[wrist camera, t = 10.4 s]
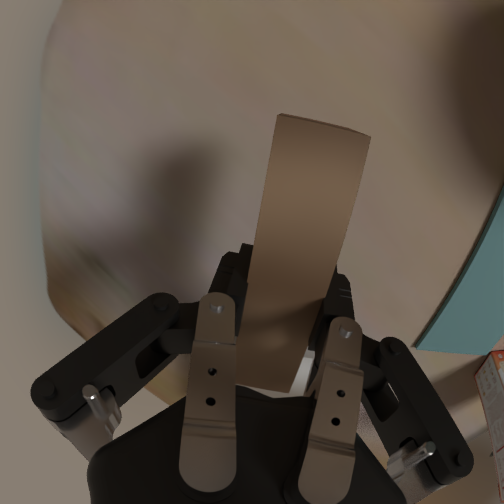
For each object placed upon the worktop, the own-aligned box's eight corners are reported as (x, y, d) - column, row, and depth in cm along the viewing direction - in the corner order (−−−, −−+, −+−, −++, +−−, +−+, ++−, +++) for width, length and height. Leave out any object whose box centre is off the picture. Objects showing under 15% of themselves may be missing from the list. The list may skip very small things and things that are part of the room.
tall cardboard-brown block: (236, 105, 13) (213, 105, 9) (391, 140, 12) (425, 154, 9) (202, 385, 21) (187, 429, 17) (298, 403, 20) (296, 450, 17)
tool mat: (510, 166, 19) (514, 168, 18) (574, 205, 18) (577, 208, 18) (415, 345, 31) (416, 349, 31) (484, 351, 31) (486, 355, 30)
